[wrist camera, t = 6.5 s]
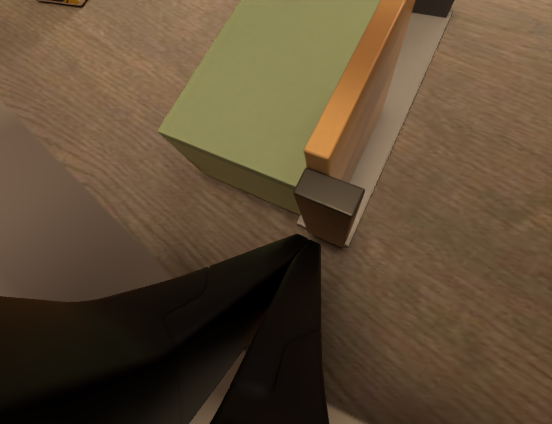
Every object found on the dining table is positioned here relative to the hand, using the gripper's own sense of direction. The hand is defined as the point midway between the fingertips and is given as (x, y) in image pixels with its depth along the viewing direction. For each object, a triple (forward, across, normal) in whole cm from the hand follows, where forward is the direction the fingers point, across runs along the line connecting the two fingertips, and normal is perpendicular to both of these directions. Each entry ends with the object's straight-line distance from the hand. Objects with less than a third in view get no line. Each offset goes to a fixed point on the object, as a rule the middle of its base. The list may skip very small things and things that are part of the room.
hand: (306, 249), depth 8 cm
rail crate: (+12, +4, -3) cm, 13 cm away
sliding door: (+8, 0, 0) cm, 8 cm away
